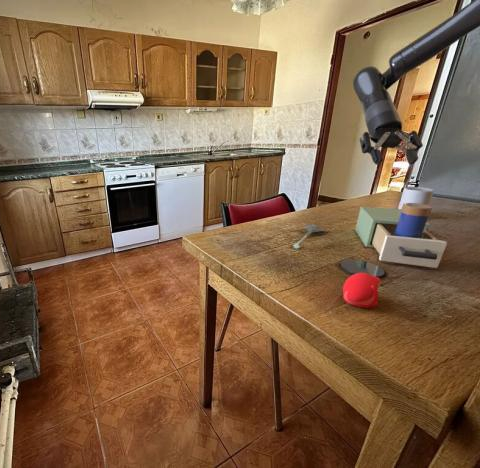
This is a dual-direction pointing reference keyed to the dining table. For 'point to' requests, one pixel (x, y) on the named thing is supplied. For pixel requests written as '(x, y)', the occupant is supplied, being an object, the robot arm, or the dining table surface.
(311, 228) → the grey spatula
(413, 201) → the mug
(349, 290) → the cap
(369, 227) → the cabinet
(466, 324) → the dining table surface
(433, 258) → the drawer
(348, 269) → the coaster
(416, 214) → the spice jar
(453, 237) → the dining table surface
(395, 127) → the robot arm
